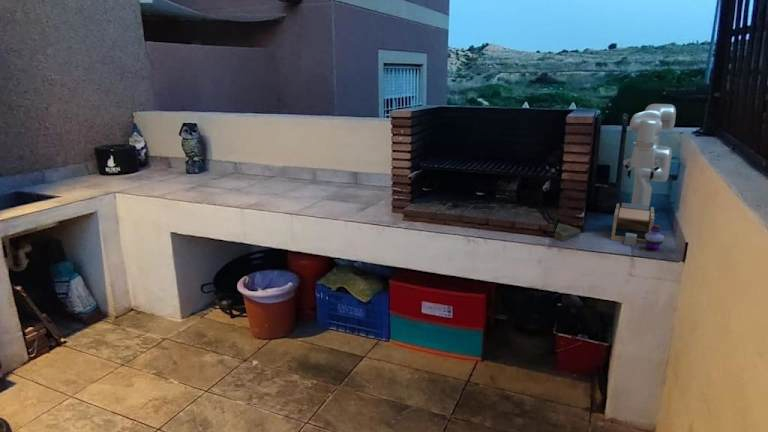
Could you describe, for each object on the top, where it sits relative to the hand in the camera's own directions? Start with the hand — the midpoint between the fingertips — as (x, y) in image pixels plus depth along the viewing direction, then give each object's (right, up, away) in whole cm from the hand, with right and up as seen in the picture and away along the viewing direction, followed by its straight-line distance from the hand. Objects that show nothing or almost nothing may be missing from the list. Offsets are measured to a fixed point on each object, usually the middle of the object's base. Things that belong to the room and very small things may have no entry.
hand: (639, 178), depth 252 cm
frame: (+1, -29, +11) cm, 31 cm away
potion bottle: (+2, -35, -8) cm, 36 cm away
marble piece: (-36, -29, +12) cm, 48 cm away
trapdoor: (+1, -20, +9) cm, 22 cm away
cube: (-6, -28, -3) cm, 29 cm away
